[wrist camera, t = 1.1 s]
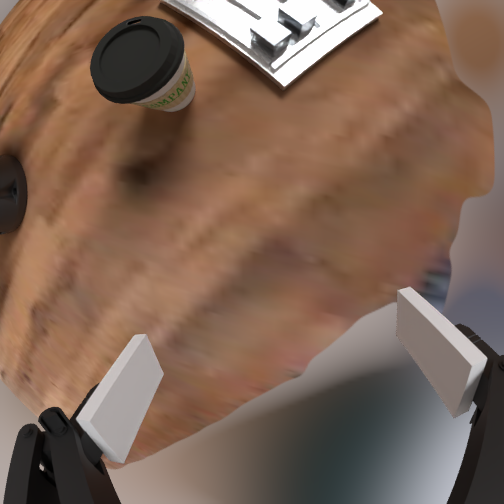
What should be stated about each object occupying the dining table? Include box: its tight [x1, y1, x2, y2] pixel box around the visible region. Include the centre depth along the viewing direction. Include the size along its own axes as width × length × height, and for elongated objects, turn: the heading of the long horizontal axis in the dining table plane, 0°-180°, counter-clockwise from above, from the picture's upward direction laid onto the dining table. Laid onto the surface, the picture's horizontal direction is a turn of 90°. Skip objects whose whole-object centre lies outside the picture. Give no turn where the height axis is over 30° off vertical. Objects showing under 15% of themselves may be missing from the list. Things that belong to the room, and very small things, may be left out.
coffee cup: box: [90, 16, 195, 112], centre depth 26 cm, size 10×10×15 cm
